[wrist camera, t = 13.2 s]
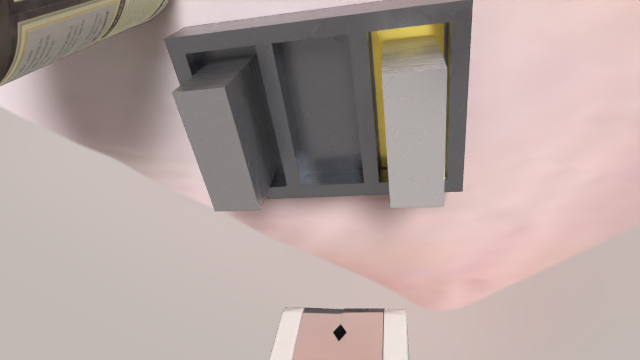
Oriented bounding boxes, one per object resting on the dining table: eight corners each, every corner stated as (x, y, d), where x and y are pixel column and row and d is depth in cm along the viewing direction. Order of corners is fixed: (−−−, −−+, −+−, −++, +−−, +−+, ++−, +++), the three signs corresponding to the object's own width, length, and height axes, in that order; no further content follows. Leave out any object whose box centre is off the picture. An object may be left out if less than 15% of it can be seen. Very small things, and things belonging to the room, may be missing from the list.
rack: (463, -11, 23) (489, 15, 17) (455, 171, 29) (472, 234, 24) (185, 27, 26) (127, 58, 20) (234, 181, 33) (200, 238, 27)
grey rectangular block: (434, 35, 23) (447, 67, 18) (434, 154, 27) (444, 206, 23) (383, 41, 24) (381, 74, 19) (390, 156, 28) (390, 208, 23)
